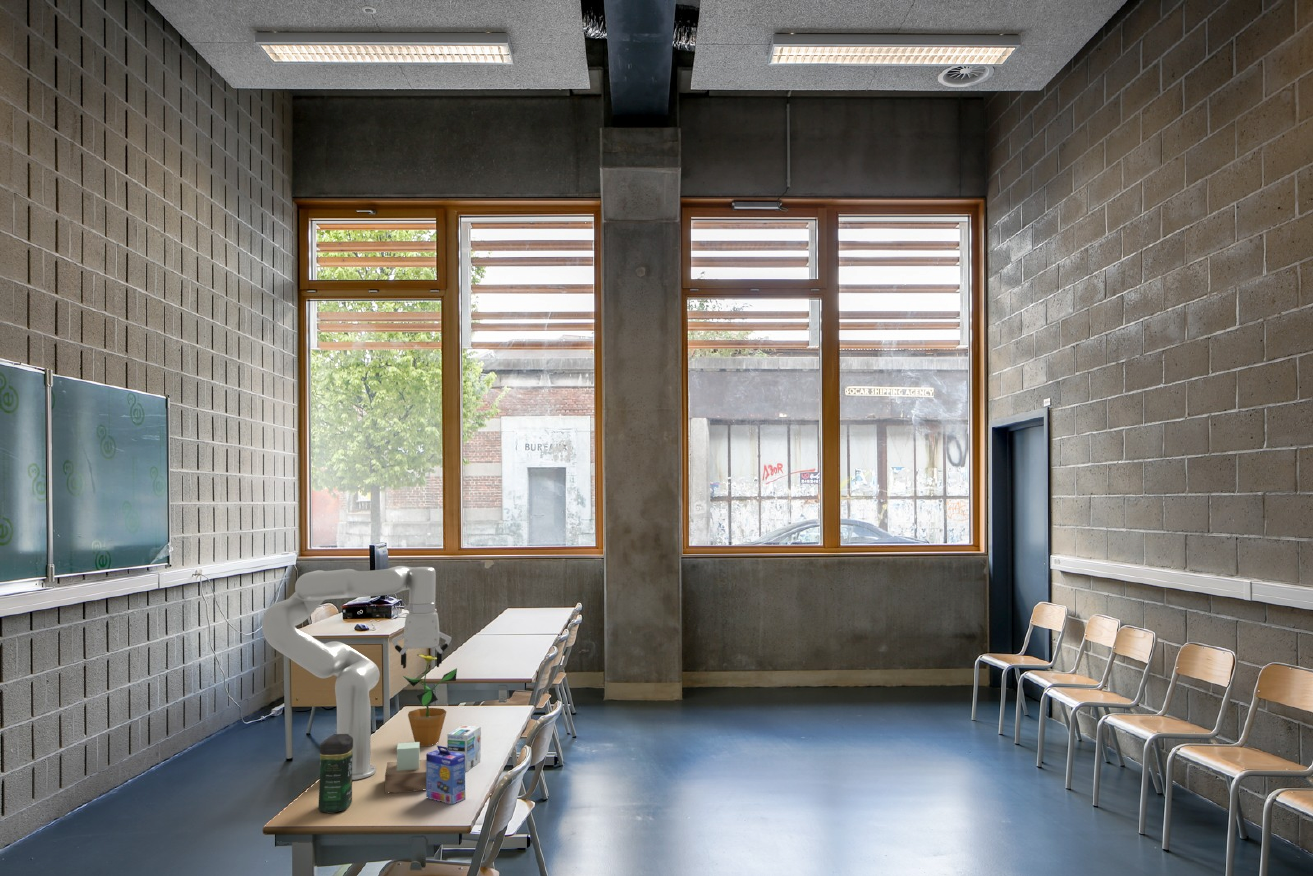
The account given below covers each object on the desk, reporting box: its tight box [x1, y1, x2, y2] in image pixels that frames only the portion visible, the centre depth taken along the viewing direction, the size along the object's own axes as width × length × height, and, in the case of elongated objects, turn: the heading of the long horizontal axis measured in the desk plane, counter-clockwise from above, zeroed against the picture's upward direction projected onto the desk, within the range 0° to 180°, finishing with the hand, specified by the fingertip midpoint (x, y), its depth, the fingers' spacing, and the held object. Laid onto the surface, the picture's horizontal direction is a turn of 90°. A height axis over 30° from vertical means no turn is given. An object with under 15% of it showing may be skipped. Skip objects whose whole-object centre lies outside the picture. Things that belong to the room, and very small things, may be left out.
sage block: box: [396, 741, 421, 771], centre depth 257 cm, size 6×6×6 cm
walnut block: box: [384, 759, 426, 794], centre depth 257 cm, size 12×12×5 cm
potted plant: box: [402, 653, 458, 747], centre depth 299 cm, size 18×19×30 cm
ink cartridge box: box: [425, 745, 466, 805], centre depth 245 cm, size 10×6×14 cm, turn 60°
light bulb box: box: [446, 725, 482, 772], centre depth 274 cm, size 11×7×11 cm, turn 168°
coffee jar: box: [317, 733, 353, 814], centre depth 239 cm, size 10×8×19 cm
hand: (421, 667), depth 268 cm, fingers open, 9 cm apart
